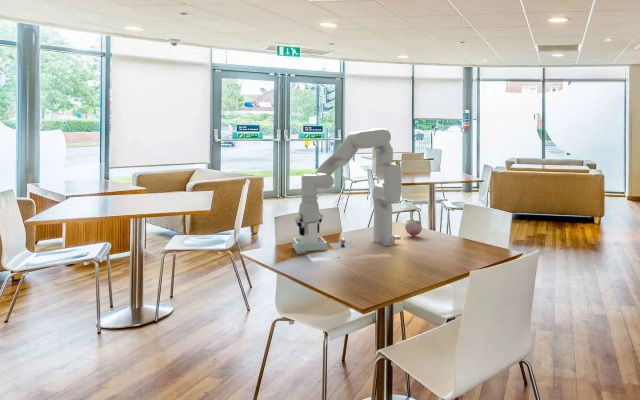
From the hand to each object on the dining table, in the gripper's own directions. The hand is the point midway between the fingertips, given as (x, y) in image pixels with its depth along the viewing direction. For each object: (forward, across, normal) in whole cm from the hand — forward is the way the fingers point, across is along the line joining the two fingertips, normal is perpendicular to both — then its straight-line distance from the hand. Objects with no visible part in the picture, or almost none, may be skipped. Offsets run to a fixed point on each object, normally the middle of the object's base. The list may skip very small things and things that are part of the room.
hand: (309, 233), depth 248 cm
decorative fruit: (+8, -65, +14) cm, 67 cm away
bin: (+8, 0, 0) cm, 8 cm away
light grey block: (+7, 0, 0) cm, 7 cm away
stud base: (+8, -15, +8) cm, 19 cm away
